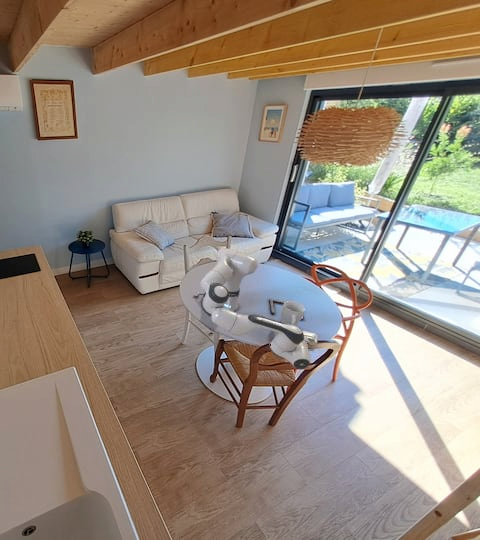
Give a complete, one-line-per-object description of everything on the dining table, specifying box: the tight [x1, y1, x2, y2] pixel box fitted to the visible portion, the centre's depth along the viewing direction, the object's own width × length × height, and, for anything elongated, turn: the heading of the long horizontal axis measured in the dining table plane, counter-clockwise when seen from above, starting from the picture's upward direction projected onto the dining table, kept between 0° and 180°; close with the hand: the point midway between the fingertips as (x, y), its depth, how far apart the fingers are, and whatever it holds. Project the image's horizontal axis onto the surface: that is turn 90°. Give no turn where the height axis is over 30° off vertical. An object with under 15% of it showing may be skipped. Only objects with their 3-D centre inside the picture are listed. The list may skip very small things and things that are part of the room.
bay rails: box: [269, 298, 304, 321], centre depth 184 cm, size 18×16×1 cm
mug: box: [280, 300, 306, 326], centre depth 167 cm, size 15×11×13 cm
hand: (293, 326), depth 160 cm, fingers closed
